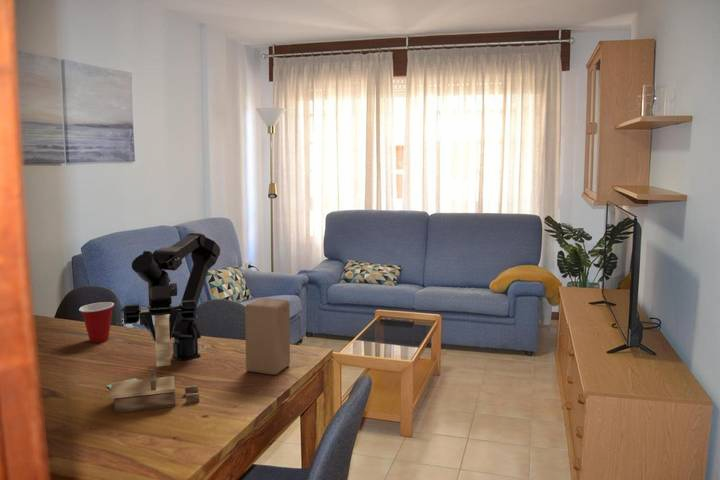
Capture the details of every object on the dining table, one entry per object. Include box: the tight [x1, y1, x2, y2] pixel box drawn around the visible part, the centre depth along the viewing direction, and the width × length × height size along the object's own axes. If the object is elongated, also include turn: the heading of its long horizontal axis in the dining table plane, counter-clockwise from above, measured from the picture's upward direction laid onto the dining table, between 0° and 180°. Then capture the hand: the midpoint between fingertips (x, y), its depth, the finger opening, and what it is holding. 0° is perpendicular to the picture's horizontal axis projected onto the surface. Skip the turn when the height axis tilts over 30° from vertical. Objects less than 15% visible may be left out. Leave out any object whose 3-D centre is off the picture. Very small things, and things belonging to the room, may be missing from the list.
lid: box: [109, 369, 176, 400], centre depth 153 cm, size 15×9×3 cm, turn 108°
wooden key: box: [153, 314, 172, 367], centre depth 162 cm, size 4×4×13 cm
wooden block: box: [244, 297, 291, 376], centre depth 178 cm, size 10×10×20 cm
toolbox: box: [113, 384, 200, 414], centre depth 154 cm, size 20×9×4 cm, turn 108°
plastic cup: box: [78, 301, 115, 343], centre depth 204 cm, size 11×11×12 cm
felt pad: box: [106, 377, 139, 390], centre depth 164 cm, size 8×8×1 cm
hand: (162, 339), depth 161 cm, fingers closed on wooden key, 3 cm apart
